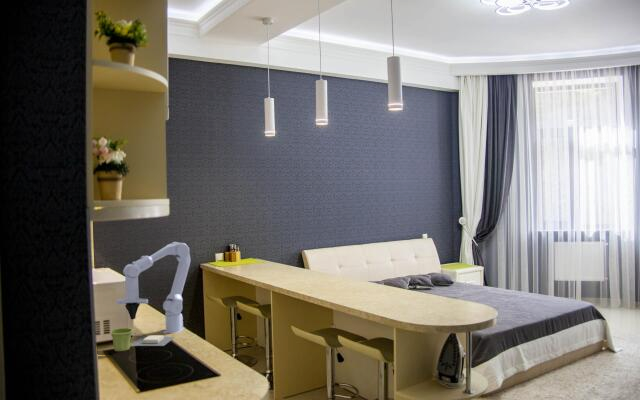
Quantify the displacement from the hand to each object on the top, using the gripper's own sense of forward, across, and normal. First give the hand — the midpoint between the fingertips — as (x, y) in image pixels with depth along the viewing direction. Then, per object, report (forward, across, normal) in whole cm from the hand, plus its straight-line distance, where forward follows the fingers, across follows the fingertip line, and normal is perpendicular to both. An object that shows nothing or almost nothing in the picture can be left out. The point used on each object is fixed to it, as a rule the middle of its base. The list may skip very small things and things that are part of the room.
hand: (133, 318), depth 254 cm
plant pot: (+10, +2, -16) cm, 19 cm away
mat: (+10, +11, -4) cm, 15 cm away
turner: (+10, +3, +4) cm, 11 cm away
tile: (+8, +8, -4) cm, 12 cm away
